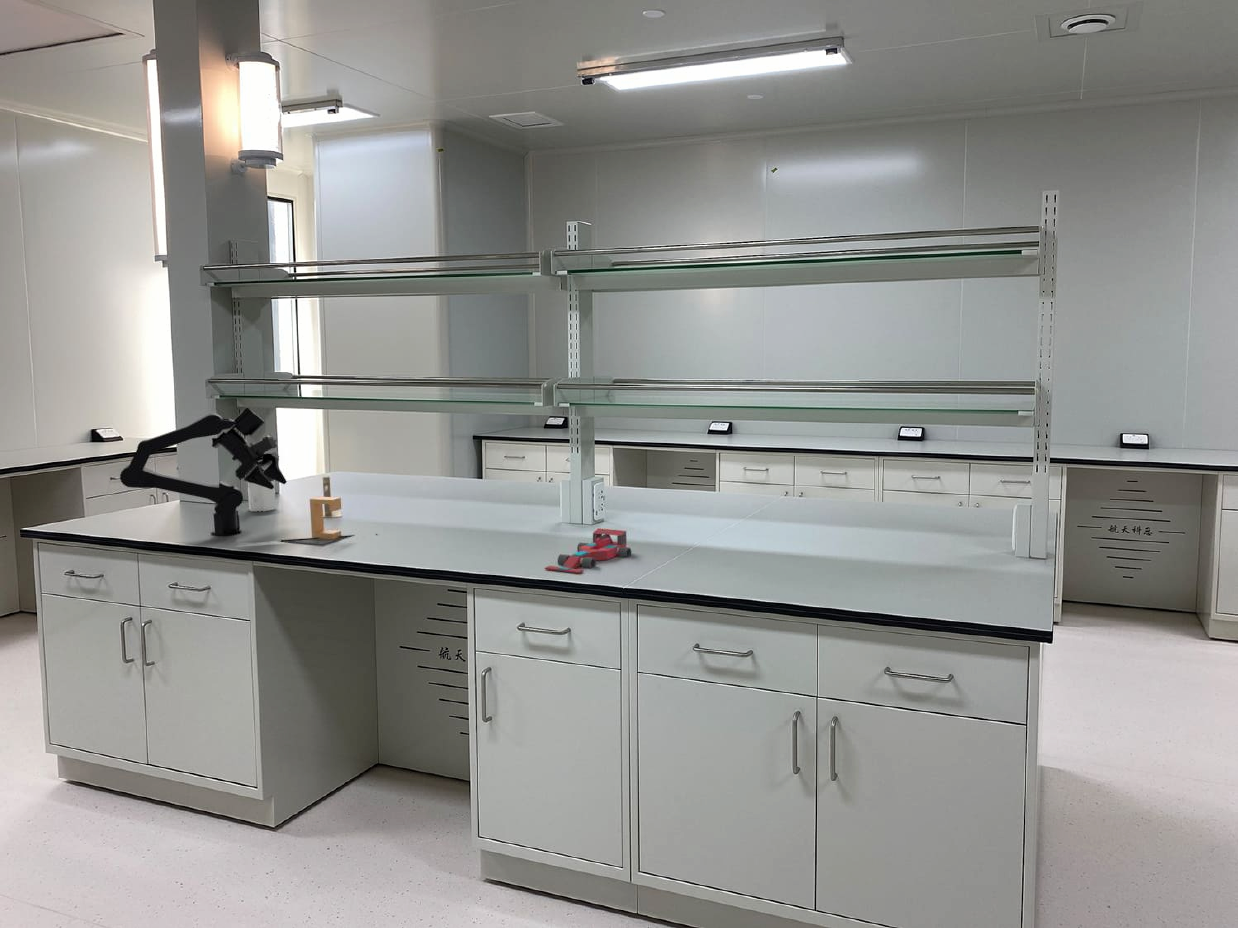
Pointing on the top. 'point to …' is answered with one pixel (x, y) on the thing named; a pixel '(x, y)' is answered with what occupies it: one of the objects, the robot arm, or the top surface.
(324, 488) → the hook stand
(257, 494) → the jar
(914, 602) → the top surface
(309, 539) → the rubber mat
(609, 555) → the race car
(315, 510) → the c hook
